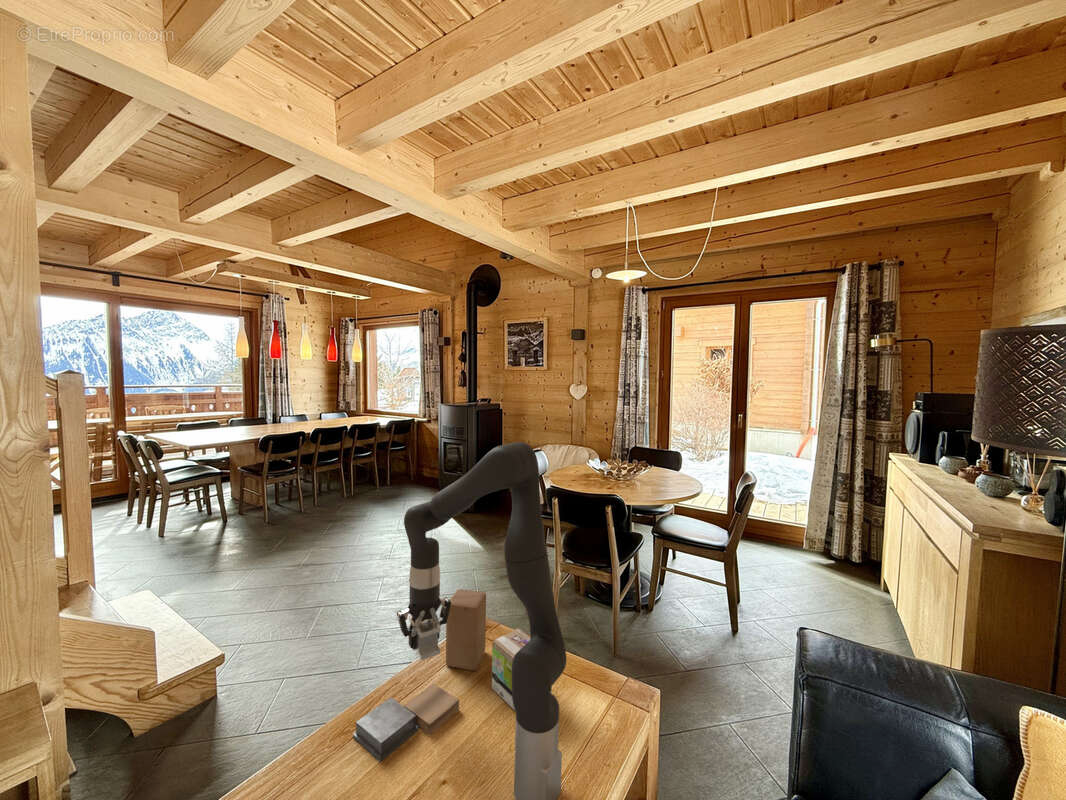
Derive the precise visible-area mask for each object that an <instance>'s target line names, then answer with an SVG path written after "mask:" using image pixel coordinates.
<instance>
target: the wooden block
mask: <svg viewBox="0 0 1066 800" xmlns="http://www.w3.org/2000/svg"><path fill="white" fill-rule="evenodd" d="M449 600H450V602H451V606H450V610H449V615H448V619H447V623H446V624H445V625H446V626H445V633H446V634H445V639H446V640H445V642H446V643H445V664H446V666H448V667H452V668H458V669H463V670H469V671H476V670H477V668H478V667H479V664H480V662H481V660H482V658H483V656H484V654H485V652H486V627H487V625H486V624H487V621H486V620H487V594H486V592H484V591H478V590H470V589H469V590H468V589H465V588H463V589H462V588H459V589H457V590H456V591H455V592H454V594H453V595H452V596H451V598H450V599H449Z"/></svg>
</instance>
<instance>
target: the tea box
mask: <svg viewBox="0 0 1066 800" xmlns="http://www.w3.org/2000/svg"><path fill="white" fill-rule="evenodd" d="M529 641H530V635H528V634H527V633H526V632H524V631H523V630H522V629H521V628H519V627H517V628H515V629H513V630H511V631H510V632H508V633H506V634H504V635H501V636H499V637H498V638H496V639H494V640H492V643H491V644H492V646H491V648H492V649H491V652H492V653H491V654H492V655H491V656H492V657H491V689H492V690H494V691H495V692H496V694H497V695H498V696H500V698H502V700H503V701H505V703H507V704H508V706H509V707H510V708H511V709H513V711H515V708H514V705H513V700H512V662H513V658H514V656H515V654H516V653H517V652H518V651H519V650H520V649H521V648H522V647H523V646H524V645H525V644H526V643H527V642H529ZM552 686H553V685H552ZM552 686H551V689H550V693H551V694H552Z"/></svg>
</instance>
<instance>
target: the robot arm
mask: <svg viewBox="0 0 1066 800" xmlns="http://www.w3.org/2000/svg"><path fill="white" fill-rule="evenodd" d="M540 487H541V486H540V467H539V461H538V458H537V454H536V453H535V451H534V449H533V448H532V446H531V445H529V444H528V443H527V442H523V441H515V442H512V443H506V444H502V445H497V446H495V447H493V448H492V449H491V450H490V451H488V452H487V453H486V454H485V455H484V456H482V458H481V459H480V460H479V461H478V462H477V463H476V464H475V465H474V466H473V467H472V468H471V469H470V470H469V471H468V472H467V473H465V474H464V475H463V476H461V477H460V478H459V479H457V480H455V481H454V482H452V483H451V484H448V485H447V486H446V487H444V488H443V489H441V490H440V491H438V492H437V493H435V495H433V497H432V498H431V500H430V501H426V502H423V503H420V504H417V505H414V506H413V505H412V506H411V507H409V508H408V509H407V511H406V512H405V514H404V517H403V526H404V530H405V533H406V537H407V541H408V544H409V548H410V569H409V578H408V582H409V599H408V600H409V604H408V606H407V608H406V609H405V610H402V611H401V610H398V611H397V612H396V616H397V621H398V624H399V628H400V631H401V633H402V635H403V636H404V637H405V638H406V637H408V646H409V648H410V649H411V650H412V651H415V649H416V632H417V627H419V626H420V624H421V622H423V621H425V620H429V619H432V620H433V621H434V622H437V623H438V624H439V626H440V627H441V626H442V625H446V623H447V619H448V615H449V610H450V606H451V602H450V599H449V598H448V597H447V596H446V597H444V598H442V599H441V598H440V596H441V595H440V594H441V593H440V592H441V569H440V542H439V541H438V540H437V539H435V538H434V537H429V536H428V537H427V532H431V531H433V530H435V529H438V528H441V527H442V526H444V525H445V524H447V523H448V522H449V521H450V520H451V519H452V518H455V517H456V516H458V515H460V514H462V513H463V512H465V511H467V509H469V508H470V507H472V506H473V505H474V504H475V503H476V501H477V500H479V499H480V498H483V496H486V495H488V494H491V493H494V492H498V491H501V490H505V489H510V494H511V508H512V509H511V515H510V519H509V524H508V529H507V532H506V537H505V541H504V548H503V549H504V560H505V569H506V575H507V579H508V580H507V581H508V583H509V585H510V588H511V589H512V591H513V592H514V594H515V595H516V596H517V598H518V599H519V600H520V602H521V603H522V605H523V606H524V608H525V610H526V613H527V616H528V622H529V630H530V632H529V633H530V635H529V636H530V641H529V642H527V643H526V644H525V645H524V646H523V647H522V648H521V649H520V650H519V651H518V652H517V653H516V654H515V656H514V658H513V662H512V700H513V705H514V708H515V710H514V711H515V728H514V730H515V733H514V734H515V737H514V769H513V771H514V773H513V774H514V776H513V777H514V778H513V779H514V781H513V784H514V785H513V795H514V798H515V800H558V798H559V796H561V793H562V765H563V764H562V761H563V759H562V758H563V752H562V750H560V749H559V733H560V732H559V731H560V730H559V729H560V705H559V702H558V699H557V697H556V696H555V695H554V694H552V692H551V693H550V689H551V686H553V685H554V684H555V683H556V682H557V680H558V679H559V678H560V677H561V676H562V675H563V673H564V671H565V669H566V666H567V652H566V645H565V641H564V638H563V633H562V630H561V626H560V622H559V617H558V614H557V609H556V603H555V596H554V589H553V585H552V578H551V577H552V576H551V569H550V560H549V555H548V548H547V543H546V538H545V530H544V529H545V528H544V521H543V513H542V507H541V493H540V492H541V491H540V490H541V489H540ZM440 607H441V609H440ZM438 609H440V613H439V617H438V615H437V612H438V611H439V610H438ZM409 615H411V616H412V617H411V620H410V621H409V622H410V623H409V626H407V625H408V624H407V622H406V621H407V620H408V618H409ZM440 633H441V631H440V632H438V640H440ZM551 690H552V689H551Z"/></svg>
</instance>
